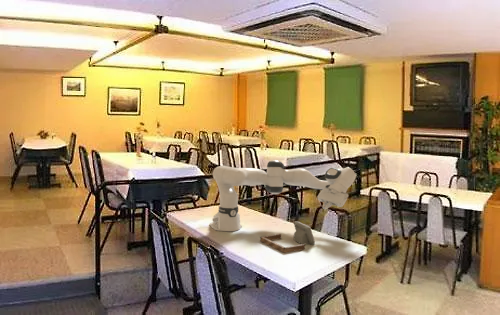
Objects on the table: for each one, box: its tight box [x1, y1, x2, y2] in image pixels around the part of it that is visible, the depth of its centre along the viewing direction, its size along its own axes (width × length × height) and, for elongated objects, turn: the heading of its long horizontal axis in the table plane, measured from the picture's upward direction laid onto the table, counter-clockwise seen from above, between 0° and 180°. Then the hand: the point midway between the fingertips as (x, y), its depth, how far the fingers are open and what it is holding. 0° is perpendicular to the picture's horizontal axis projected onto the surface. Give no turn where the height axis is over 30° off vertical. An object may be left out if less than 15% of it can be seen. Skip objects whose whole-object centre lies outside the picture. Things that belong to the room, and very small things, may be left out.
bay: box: [259, 233, 306, 254], centre depth 250 cm, size 24×13×2 cm, turn 31°
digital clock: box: [293, 220, 316, 245], centre depth 257 cm, size 16×9×11 cm, turn 13°
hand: (324, 208), depth 263 cm, fingers closed
